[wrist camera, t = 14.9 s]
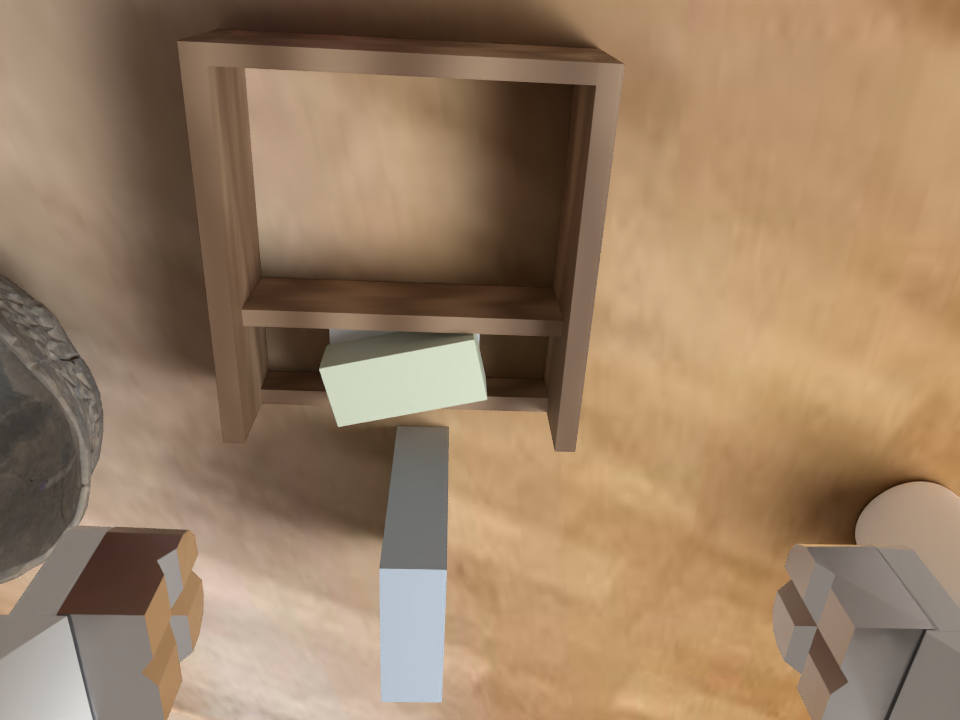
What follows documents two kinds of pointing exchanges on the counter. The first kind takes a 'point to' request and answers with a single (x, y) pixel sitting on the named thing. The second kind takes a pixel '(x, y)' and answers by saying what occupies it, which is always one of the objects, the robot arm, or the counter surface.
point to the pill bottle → (918, 527)
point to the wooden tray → (373, 304)
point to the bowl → (41, 432)
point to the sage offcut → (401, 374)
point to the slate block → (415, 567)
